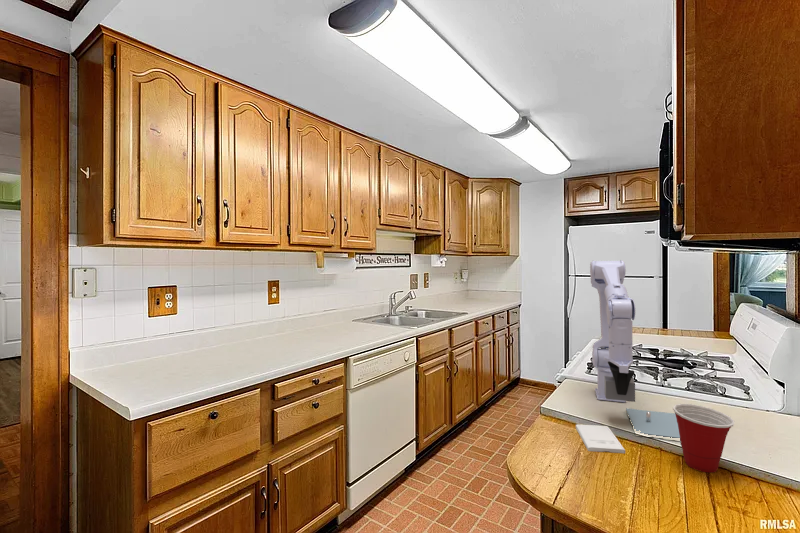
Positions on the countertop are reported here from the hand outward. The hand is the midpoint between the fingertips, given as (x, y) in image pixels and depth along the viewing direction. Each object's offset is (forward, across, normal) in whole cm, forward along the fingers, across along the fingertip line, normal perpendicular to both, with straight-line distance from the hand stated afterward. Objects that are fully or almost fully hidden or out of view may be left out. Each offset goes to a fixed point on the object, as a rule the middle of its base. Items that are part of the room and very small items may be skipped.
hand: (620, 391), depth 111 cm
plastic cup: (+9, +20, +14) cm, 25 cm away
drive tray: (+8, 0, +11) cm, 14 cm away
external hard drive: (+9, +14, -6) cm, 18 cm away
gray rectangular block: (+2, 0, 0) cm, 2 cm away
